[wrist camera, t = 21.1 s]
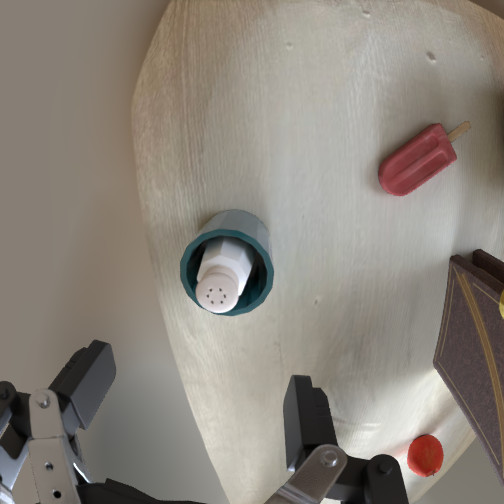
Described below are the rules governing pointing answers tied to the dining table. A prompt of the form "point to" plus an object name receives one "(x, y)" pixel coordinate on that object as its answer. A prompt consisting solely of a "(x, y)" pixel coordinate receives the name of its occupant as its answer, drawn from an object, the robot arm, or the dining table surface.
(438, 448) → the apple
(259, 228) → the cup
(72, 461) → the robot arm
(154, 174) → the dining table surface
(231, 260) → the pepper shaker
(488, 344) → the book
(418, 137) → the popsicle
